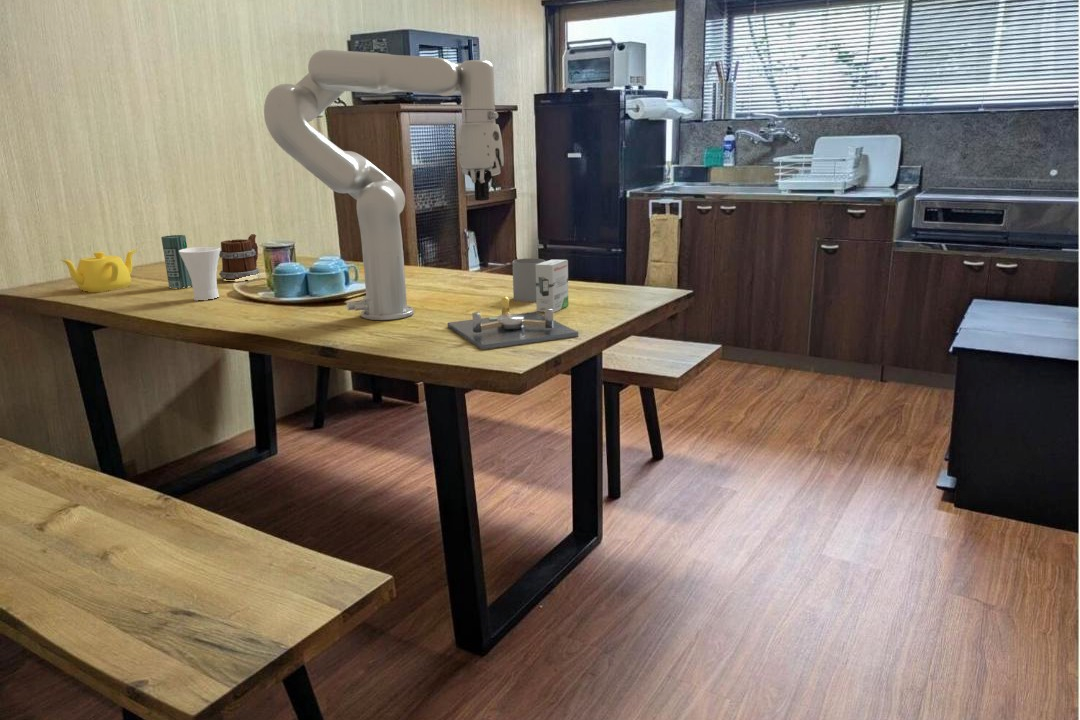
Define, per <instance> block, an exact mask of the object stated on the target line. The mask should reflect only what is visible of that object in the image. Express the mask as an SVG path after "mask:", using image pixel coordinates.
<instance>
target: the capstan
mask: <svg viewBox="0 0 1080 720" xmlns="http://www.w3.org/2000/svg"><path fill="white" fill-rule="evenodd" d="M520 314H521V313H511V312H510V298H509V297H507V296H503V297H501V314H500V315H498V317H497V321H495V322H490V323H485V324H481V319H482V313H481V312H479V311H478V312H472V316H471V317H472V320H473V332H475V333H479V332H482V331H483V330H488V329H492V328H497V327H498V328H501V329H518V328H522V327H524V325H525V326H539V327H545V328H553V320H554V313H553V309H552V308H547V309H545V312H544V316H545V321H541V320H526V319H524V316H523V315H520Z"/></svg>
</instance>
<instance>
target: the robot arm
mask: <svg viewBox="0 0 1080 720" xmlns="http://www.w3.org/2000/svg"><path fill="white" fill-rule="evenodd" d="M307 66H308V67H307V69H308V73H307V74H306V75H305V76H304V77H303V78H302V79H301V80H299V81H298V82H297V83H296V84H293V83H283V84H278V85H276V86H274V87H272V88H271V89H270V90H269V91H268V93H267V95H266V97H265V100H264V105H263V116H264V121H265V122H264V123H265V125H266V128H267V131H268V132H269V134H270V136H271V138H272V139H273V140H274V142H275V143H276V144H277V145H278V147H280V148H281V149H282V150H283V151H284V152H285V153H286V154H287V155H289V156H290V157H291V158H293V159H294V160H295V161H296V162H297V163H299V164H300V165H301V166H302V167H304V168H305V169H306V170H307V171H308V172H310V174H312V175H313V176H314V177H316V178H317V179H318V180H319V181H321V182H322V183H323V184H324V185H325V186H326V187H327V188H329V189H330V190H332V191H333V192H336V193H338V194H348V195H350V196H351V197H352V198H353V199H354V200H356V213H357V215H356V217H357V220H358V225H359V231H360V239H361V240H360V241H361V250H362V251H361V252H362V261H363V264H362V265H363V272H364V273H363V274H364V285H365V295H366V296H365V295H364V296H362V297H363V298H362V299H360V300H359V301H349V302H346V307H347V311H360V315H361V317H362V318H363V319H366V320H373V321H388V320H389V321H391V320H398V319H403V318H404V319H405V318H407V317H410V316H412V315H413V314H414V313H415V312H414V308H413V306H410V305H408V303H407V301H408V300H407V290H406V275H405V259H404V248H403V235H402V227H401V219H400V218H401V217H400V215H401V213H402V212H403V211H404V208H405V205H406V196H405V192H404V191H403V189H402V187H401V186H400V185H399V184H398V183H397V182H395V181H394V180H393V179H392V178H391V177H389V176H388V174H386V173H384V172H383V171H382V170H381V169H379V168H378V167H377V166H376V165H375V164H373V163H372V162H371V161H370V160H368V159H367V158H366V157H364V156H363V155H361V154H359V153H357V152H355V151H351V150H344V149H341V148H340V147H339V146H337V145H336V144H335V143H333V142H332V141H331V140H329V139H328V137H326V135H324V134H323V133H321V132H320V131H319V130H317V129H316V128H314V127H313V126H311V124H309V123H310V122H312V121H314V120H315V119H316V118H317V117H319V116H320V115H321V114H322V113H323V112H324V111H325V110H327V108H328V107H329V106H331V105H332V104H333V103H334V102H335V101H337V99H339V97H341V96H342V95H343V94H344V93H345V92H353V93H354V92H356V93H368V94H384V95H385V94H390V93H399V92H400V93H418V94H431V95H437V96H441V97H450V96H455V95H460V96H461V115H462V119H461V120H462V124H461V125H460V131H459V142H458V143H459V144H458V145H459V146H458V153H459V154H458V158H459V165H460V167H461V173H462V174H463V175H466V176H469V178H470V179H471V182H472V184H474V200H475V201H480V202H483V201H488V200H489V199H490V188H489V187H490V185H489V183H491V181H492V178H493V177H494V176H497V175H500V174H501V168H503V167H504V162H505V159H504V158H505V157H504V147H503V139H502V134H501V129H500V126H499V124H497V123H496V119H498V118H499V113H498V112H496V106H495V105H496V101H495V99H496V98H495V97H496V96H495V72H494V65H493V63H492V62H491V61H489V60H485V59H471V60H465V61H463V62H454V61H453V62H452V61H450V60H449V59H446V58H442V57H437V56H436V57H434V56H432V57H431V56H422V55H421V56H419V55H403V54H402V55H401V54H400V55H399V54H391V53H380V52H366V51H364V52H363V51H351V50H339V49H338V50H337V49H336V50H335V49H321V50H318V51H316V52H315V53H313V54H312V55H311V57H310V58H309V61H308V64H307Z"/></svg>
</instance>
